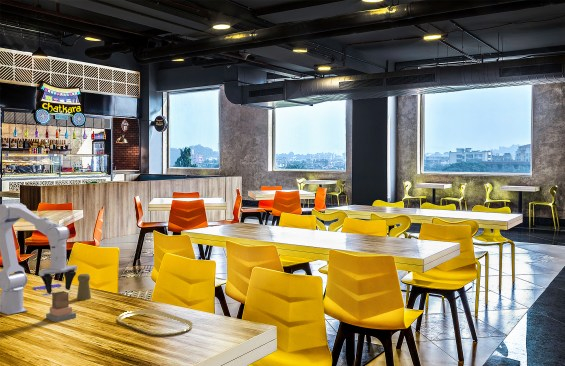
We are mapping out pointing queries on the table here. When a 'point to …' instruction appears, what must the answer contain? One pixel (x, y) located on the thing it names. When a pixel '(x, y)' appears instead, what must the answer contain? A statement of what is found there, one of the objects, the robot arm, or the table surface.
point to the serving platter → (156, 314)
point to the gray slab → (60, 317)
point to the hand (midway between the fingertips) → (58, 291)
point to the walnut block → (60, 300)
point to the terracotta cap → (60, 311)
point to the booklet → (45, 287)
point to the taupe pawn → (83, 287)
